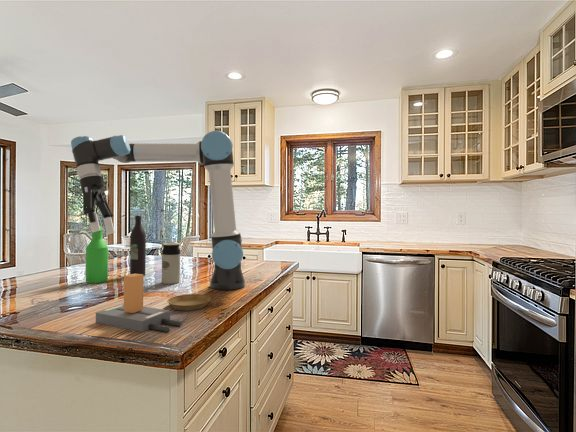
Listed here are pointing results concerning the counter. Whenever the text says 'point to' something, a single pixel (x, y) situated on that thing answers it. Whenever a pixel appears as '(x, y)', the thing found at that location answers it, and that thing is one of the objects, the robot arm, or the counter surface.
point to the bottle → (96, 259)
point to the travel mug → (170, 263)
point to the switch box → (136, 319)
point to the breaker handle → (133, 293)
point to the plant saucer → (189, 301)
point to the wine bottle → (137, 248)
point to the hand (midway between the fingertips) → (104, 232)
